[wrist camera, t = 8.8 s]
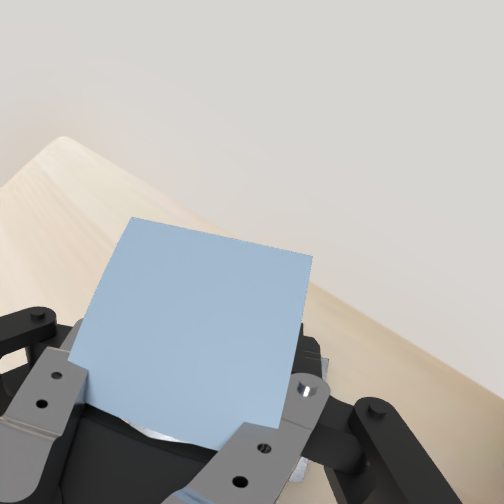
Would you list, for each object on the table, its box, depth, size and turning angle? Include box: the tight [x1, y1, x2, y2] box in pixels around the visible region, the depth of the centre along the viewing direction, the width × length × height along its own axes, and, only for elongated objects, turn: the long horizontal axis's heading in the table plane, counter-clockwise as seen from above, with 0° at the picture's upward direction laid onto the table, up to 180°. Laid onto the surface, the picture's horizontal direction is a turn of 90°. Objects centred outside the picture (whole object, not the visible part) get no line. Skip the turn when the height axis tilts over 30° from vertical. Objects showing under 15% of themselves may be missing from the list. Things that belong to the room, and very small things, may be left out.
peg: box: [68, 217, 313, 451], centre depth 10 cm, size 4×4×10 cm
